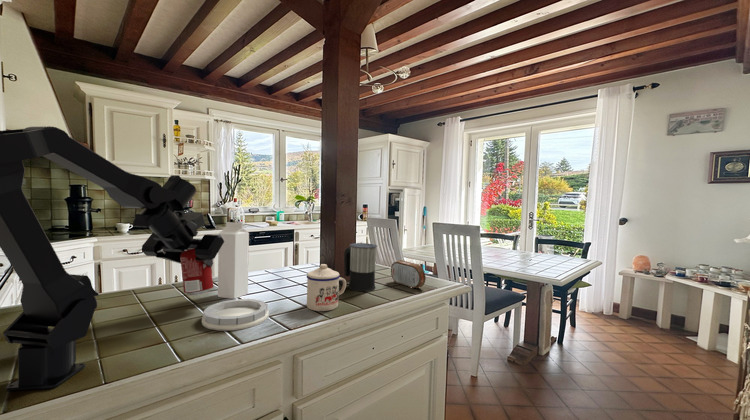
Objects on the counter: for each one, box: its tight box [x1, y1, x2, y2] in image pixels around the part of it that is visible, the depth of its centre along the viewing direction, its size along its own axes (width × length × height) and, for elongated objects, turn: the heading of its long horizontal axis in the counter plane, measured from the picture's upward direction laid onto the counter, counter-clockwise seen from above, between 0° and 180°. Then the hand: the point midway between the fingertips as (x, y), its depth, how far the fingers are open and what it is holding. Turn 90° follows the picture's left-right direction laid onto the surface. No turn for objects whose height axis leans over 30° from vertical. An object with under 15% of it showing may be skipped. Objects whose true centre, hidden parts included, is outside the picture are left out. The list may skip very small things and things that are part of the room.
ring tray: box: [201, 298, 270, 332], centre depth 77 cm, size 15×15×2 cm
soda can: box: [180, 248, 214, 296], centre depth 82 cm, size 7×7×12 cm
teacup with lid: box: [306, 263, 347, 312], centre depth 88 cm, size 12×9×12 cm
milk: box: [217, 221, 250, 300], centre depth 95 cm, size 6×6×22 cm
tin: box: [390, 259, 426, 289], centre depth 112 cm, size 15×3×8 cm, turn 40°
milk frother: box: [338, 242, 378, 292], centre depth 105 cm, size 14×16×15 cm
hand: (199, 264), depth 83 cm, fingers closed on soda can, 7 cm apart
